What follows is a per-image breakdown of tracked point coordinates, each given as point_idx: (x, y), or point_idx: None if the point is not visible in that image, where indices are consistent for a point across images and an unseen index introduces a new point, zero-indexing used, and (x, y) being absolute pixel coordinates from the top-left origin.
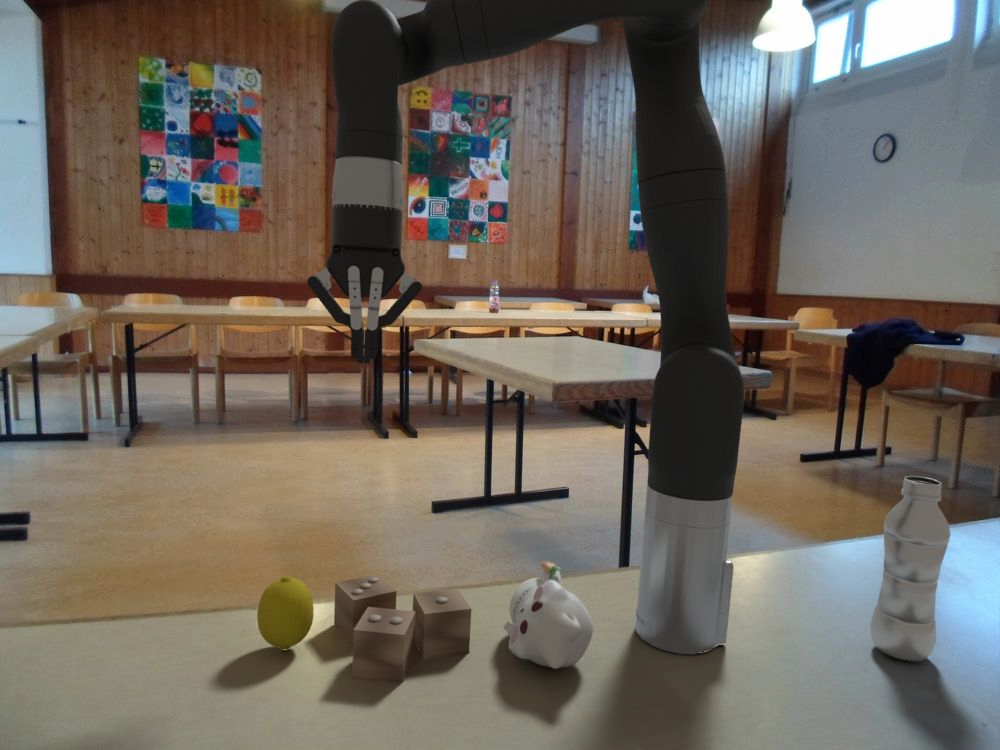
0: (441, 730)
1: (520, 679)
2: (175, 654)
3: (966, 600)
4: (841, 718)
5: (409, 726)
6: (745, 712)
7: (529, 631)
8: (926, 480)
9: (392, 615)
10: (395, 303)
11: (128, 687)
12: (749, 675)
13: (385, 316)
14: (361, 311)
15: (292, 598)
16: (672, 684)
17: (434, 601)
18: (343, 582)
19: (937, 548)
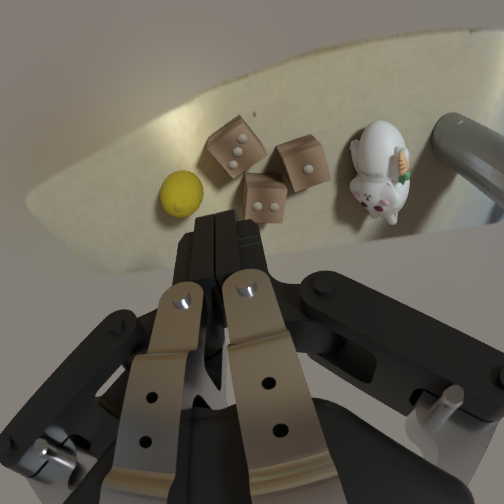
0: (300, 243)
1: (349, 193)
2: (117, 200)
3: None
4: (473, 213)
5: (284, 242)
6: (444, 212)
7: (366, 208)
8: None
9: (270, 198)
10: (366, 392)
11: (116, 235)
12: (462, 181)
13: (315, 357)
14: (203, 347)
15: (190, 214)
16: (427, 191)
17: (302, 170)
18: (214, 146)
19: None
